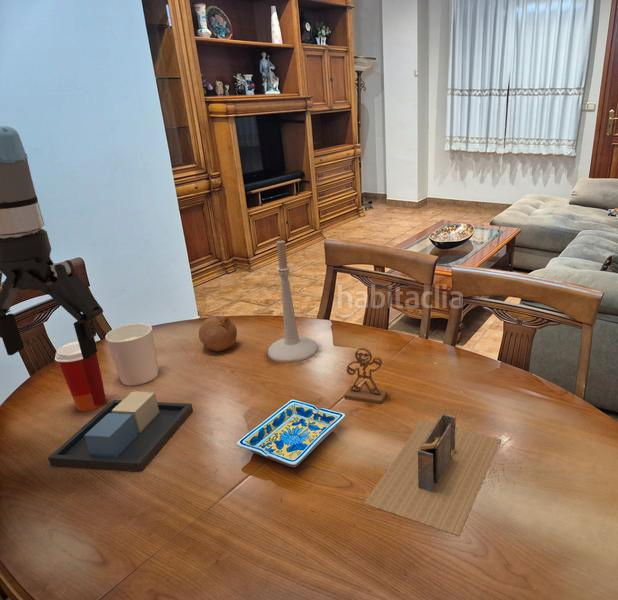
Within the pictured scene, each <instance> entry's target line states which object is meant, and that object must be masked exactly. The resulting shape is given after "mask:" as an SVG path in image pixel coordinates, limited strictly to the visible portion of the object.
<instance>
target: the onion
mask: <svg viewBox="0 0 618 600" xmlns="http://www.w3.org/2000/svg"><path fill="white" fill-rule="evenodd" d="M237 337H238V329H237V327H236V325H235V324H234V322H233V321H232V320H231V319H230V318H228V317H224V316H219V315H214V316H211V317H208V318H206V319H204V321H203V322H201V325H200V327H199V330H198V338H199V341H200V343H202V344H203V347H204V348H206V349H208V350H210V351H213V352H216V353H218V352H222V351H225V350H227V349H229V348H230V347H232V346H233V345H234V343H235V342H236V339H237Z"/></svg>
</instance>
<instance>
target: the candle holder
mask: <svg viewBox="0 0 618 600" xmlns="http://www.w3.org/2000/svg"><path fill="white" fill-rule="evenodd" d="M105 341H106V344H107V346H108V348H109V352H110V354H111V357H112V360H113V363H114V367H115V369H116V372H117V374H118V377H119V380H120V383H122V384H123V385H125V386H131V387H132V386H133V387H134V386H139V385H140V386H141V385H143V384H144V385H145V384H146V383H149V382H151V381H153V380H155V379H156V378H157V377H158V375H159V365H158V359H157V352H156V346H155V345H156V344H155V339H154V332H153V326H151V324H148V323H142V322H139V323H137V322H136V323H129V324H124V325H120V326H118V327H115V328H113V329H111V330H109V331H108V332H107V333H106V335H105Z"/></svg>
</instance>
